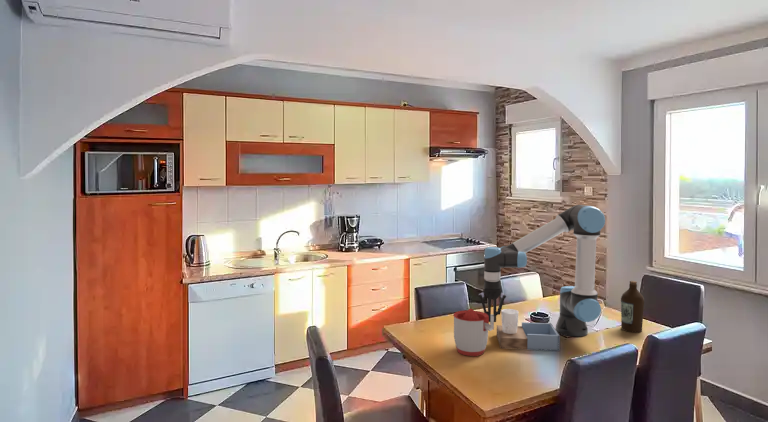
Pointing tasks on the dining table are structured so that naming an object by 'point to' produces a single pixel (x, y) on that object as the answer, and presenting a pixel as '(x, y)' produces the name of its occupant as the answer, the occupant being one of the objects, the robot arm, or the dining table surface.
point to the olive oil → (632, 309)
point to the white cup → (509, 321)
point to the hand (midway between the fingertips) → (491, 328)
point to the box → (541, 336)
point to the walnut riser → (512, 339)
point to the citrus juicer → (471, 332)
